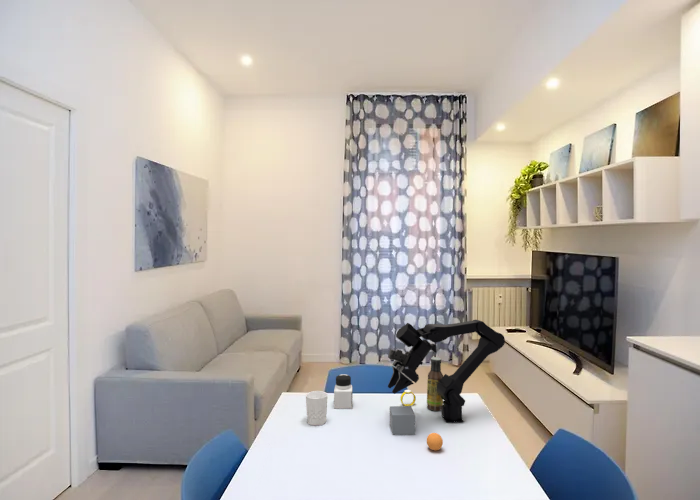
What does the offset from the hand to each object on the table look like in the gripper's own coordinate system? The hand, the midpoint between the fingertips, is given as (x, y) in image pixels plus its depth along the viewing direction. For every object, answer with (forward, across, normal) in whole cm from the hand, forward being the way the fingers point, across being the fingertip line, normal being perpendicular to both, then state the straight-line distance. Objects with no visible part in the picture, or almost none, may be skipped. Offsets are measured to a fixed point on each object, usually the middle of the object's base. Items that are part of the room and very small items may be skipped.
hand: (390, 390), depth 144 cm
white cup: (+26, -8, -13) cm, 30 cm away
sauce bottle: (-4, -16, +22) cm, 28 cm away
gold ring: (+2, -20, +14) cm, 25 cm away
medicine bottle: (+18, -22, -6) cm, 29 cm away
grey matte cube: (+8, +1, +11) cm, 14 cm away
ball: (+3, +16, +16) cm, 23 cm away
